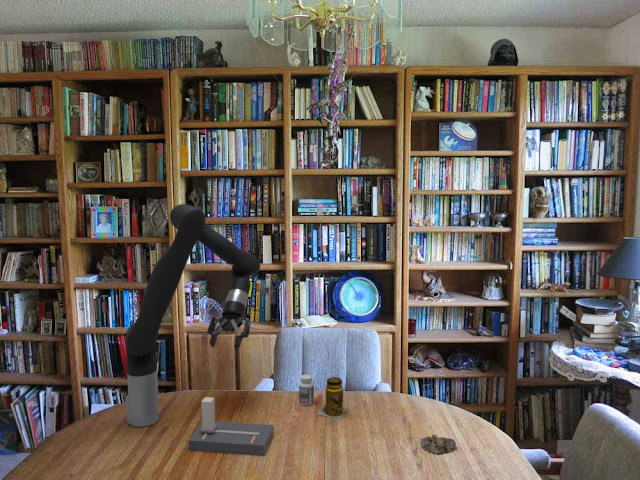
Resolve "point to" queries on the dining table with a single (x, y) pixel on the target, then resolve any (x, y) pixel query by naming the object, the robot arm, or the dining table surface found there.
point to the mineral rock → (438, 444)
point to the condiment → (333, 399)
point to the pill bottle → (306, 390)
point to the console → (233, 438)
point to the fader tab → (208, 415)
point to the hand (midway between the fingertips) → (224, 347)
